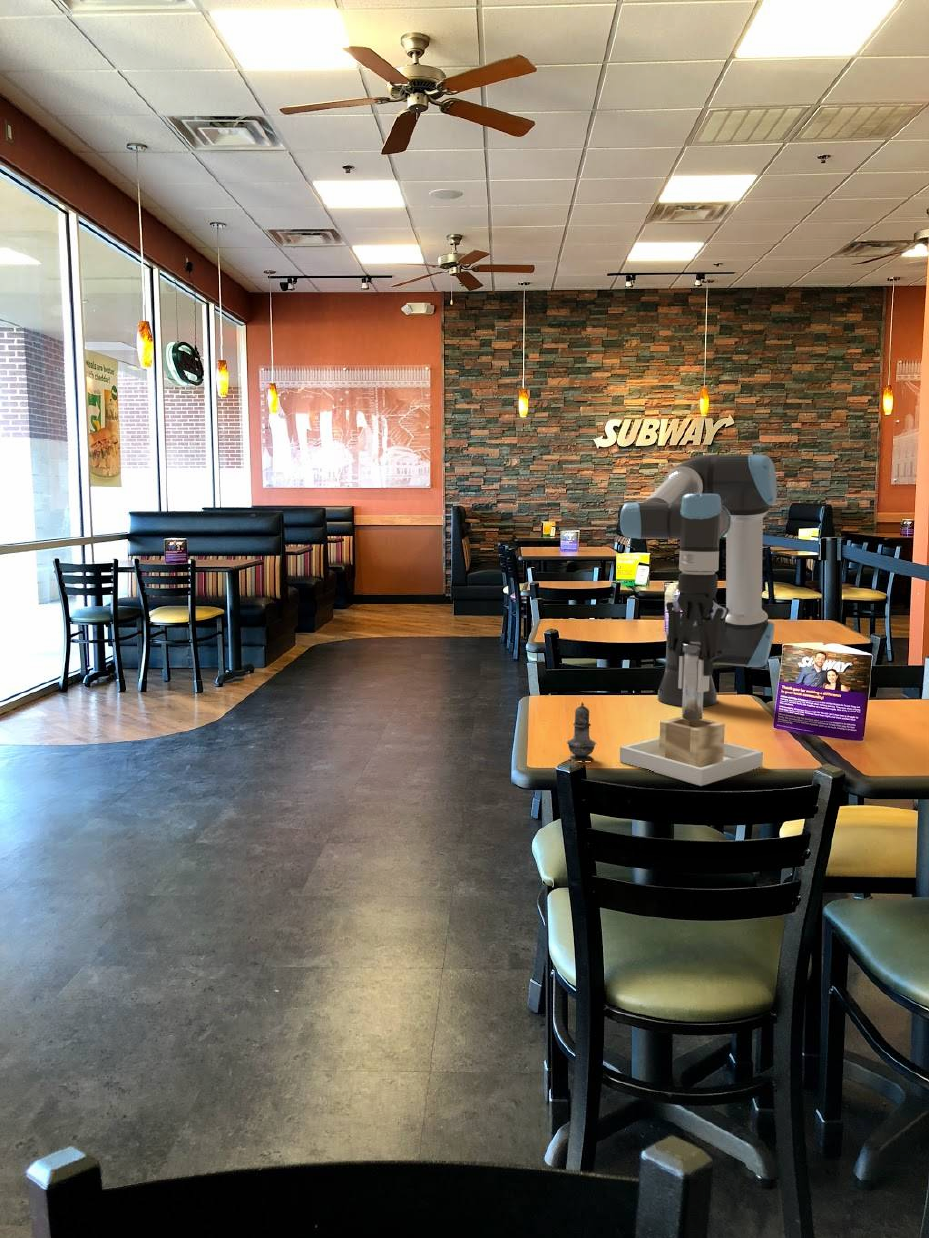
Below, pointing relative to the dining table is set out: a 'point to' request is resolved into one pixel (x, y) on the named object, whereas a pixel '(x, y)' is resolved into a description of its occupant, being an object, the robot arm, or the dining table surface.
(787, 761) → the dining table surface
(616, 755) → the dining table surface
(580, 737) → the salt shaker
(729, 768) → the tray
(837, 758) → the dining table surface
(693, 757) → the wooden box
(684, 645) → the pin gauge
